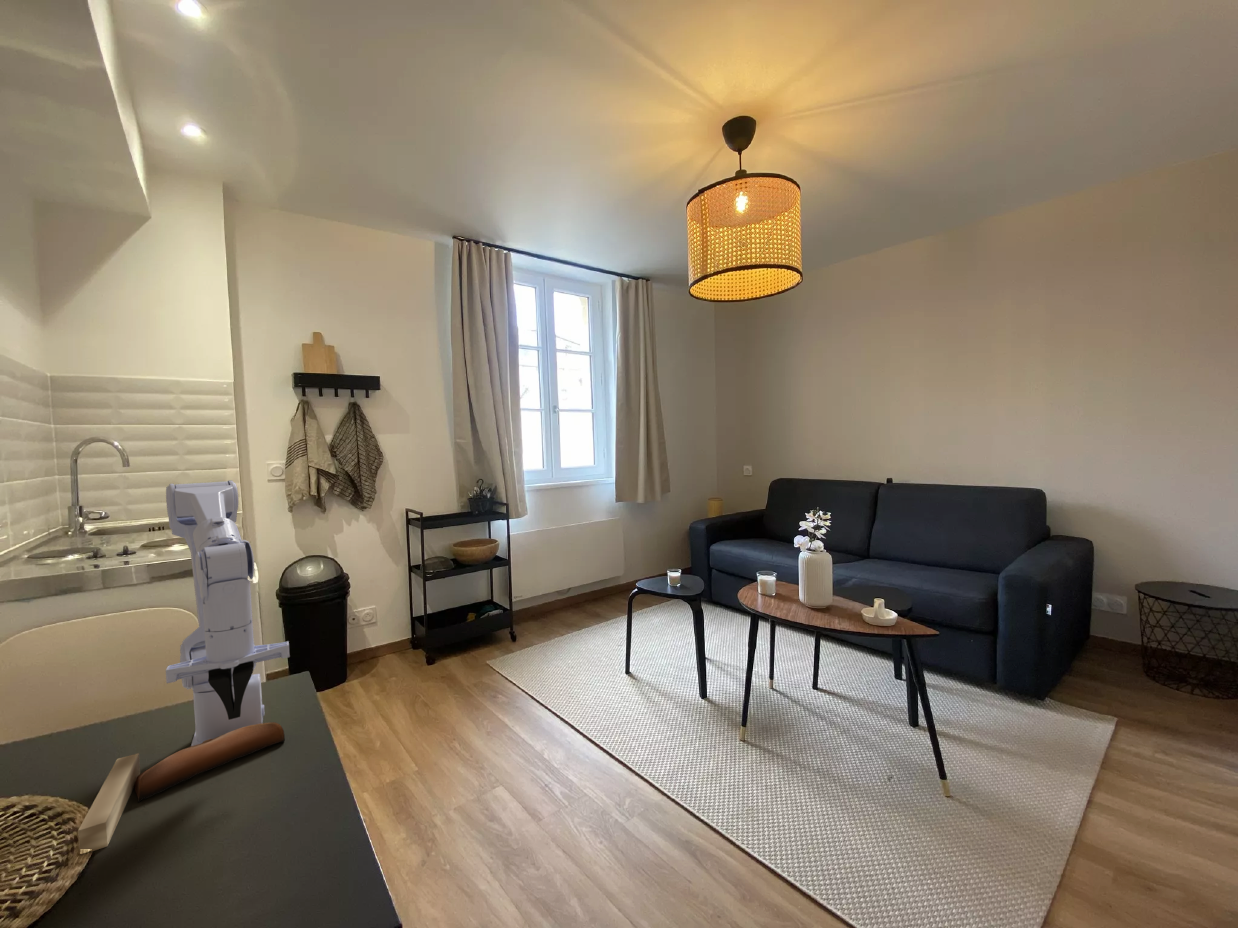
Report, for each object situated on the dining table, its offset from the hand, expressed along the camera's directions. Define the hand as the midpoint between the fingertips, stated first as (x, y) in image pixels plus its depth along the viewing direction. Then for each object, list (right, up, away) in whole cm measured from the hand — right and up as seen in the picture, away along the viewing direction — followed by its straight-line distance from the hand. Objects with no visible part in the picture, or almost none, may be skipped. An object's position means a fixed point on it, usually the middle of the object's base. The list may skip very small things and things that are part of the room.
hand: (234, 715), depth 77 cm
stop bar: (-11, -9, -7) cm, 16 cm away
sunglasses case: (-6, -9, +3) cm, 11 cm away
